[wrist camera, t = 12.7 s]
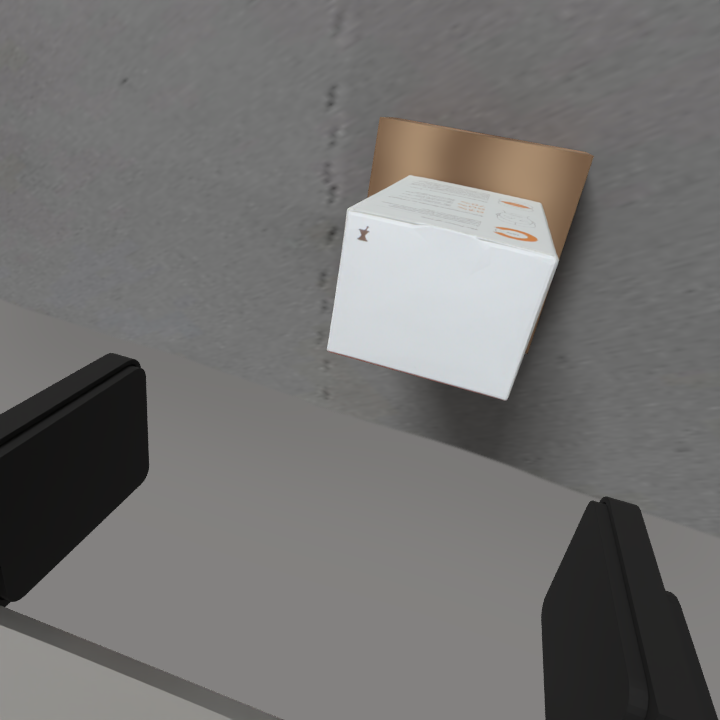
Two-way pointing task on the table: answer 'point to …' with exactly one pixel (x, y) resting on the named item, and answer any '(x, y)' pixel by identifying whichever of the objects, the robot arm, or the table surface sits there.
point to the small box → (442, 283)
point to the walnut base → (483, 168)
